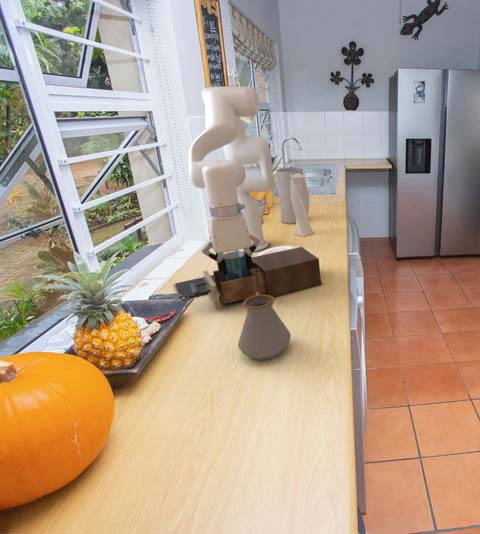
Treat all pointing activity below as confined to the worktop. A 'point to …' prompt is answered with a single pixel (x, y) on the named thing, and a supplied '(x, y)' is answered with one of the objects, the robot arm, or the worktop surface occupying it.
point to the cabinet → (289, 271)
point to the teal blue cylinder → (235, 265)
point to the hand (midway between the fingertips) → (236, 270)
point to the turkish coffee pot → (262, 327)
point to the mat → (186, 290)
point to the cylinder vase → (286, 193)
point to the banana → (275, 250)
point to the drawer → (230, 287)
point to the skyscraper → (300, 203)
